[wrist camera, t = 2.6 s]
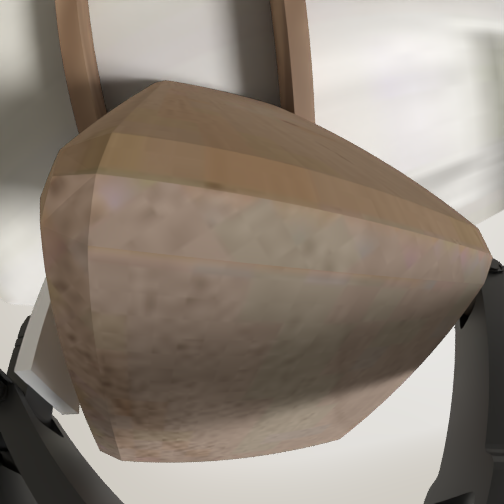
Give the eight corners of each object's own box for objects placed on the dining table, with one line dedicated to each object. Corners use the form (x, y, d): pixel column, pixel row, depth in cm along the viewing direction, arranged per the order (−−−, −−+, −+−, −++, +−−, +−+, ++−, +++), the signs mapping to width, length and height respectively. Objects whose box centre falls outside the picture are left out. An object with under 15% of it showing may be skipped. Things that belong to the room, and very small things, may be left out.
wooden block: (281, 106, 21) (514, 255, 6) (245, 216, 26) (345, 442, 11) (152, 77, 18) (6, 150, 2) (130, 200, 23) (96, 465, 7)
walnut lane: (281, -54, 13) (306, -76, 9) (303, 240, 29) (324, 271, 25) (67, -18, 11) (42, -34, 7) (142, 277, 27) (140, 315, 23)
